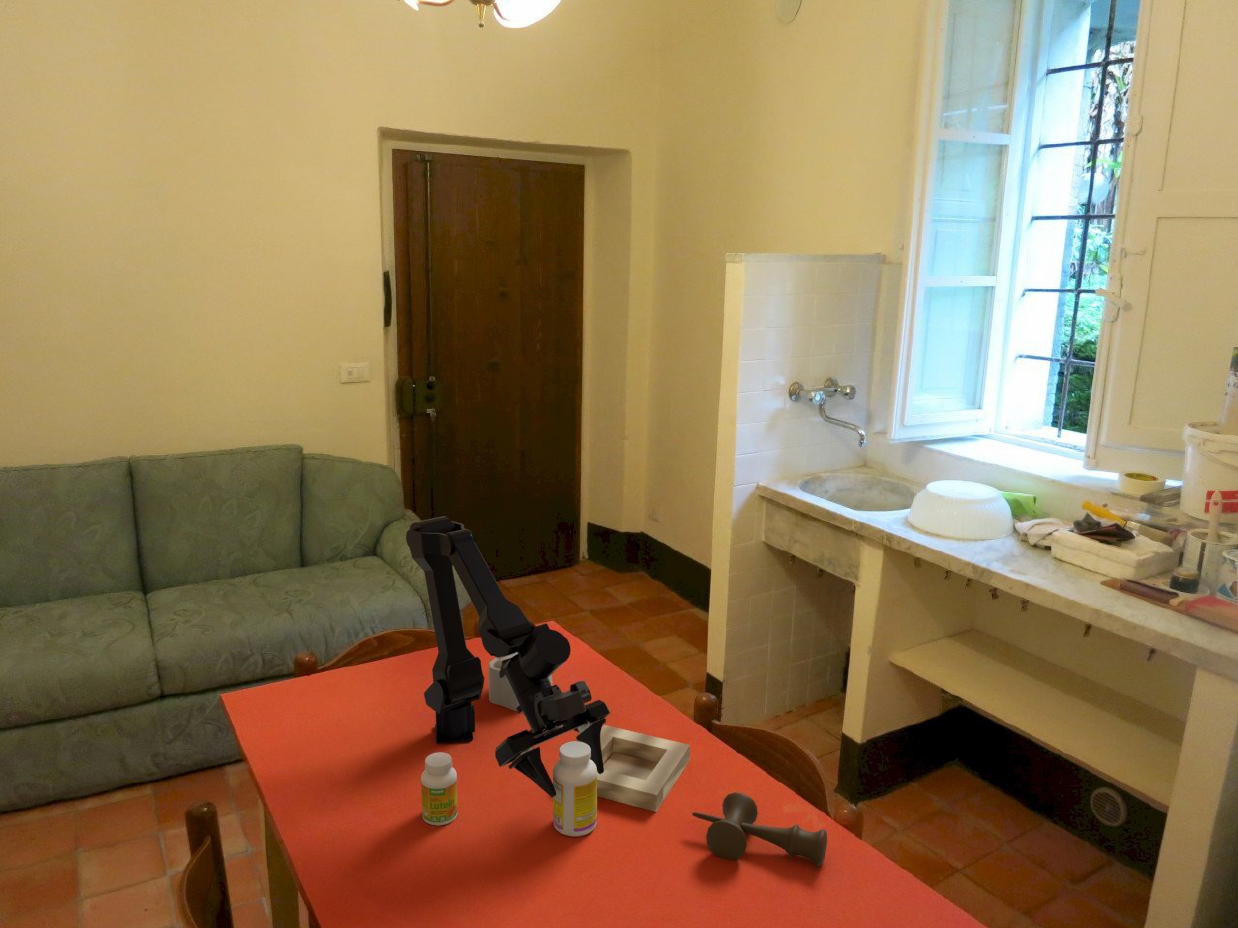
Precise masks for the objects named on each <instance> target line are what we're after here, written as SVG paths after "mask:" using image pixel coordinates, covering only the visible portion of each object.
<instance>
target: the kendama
mask: <svg viewBox="0 0 1238 928" xmlns="http://www.w3.org/2000/svg"><path fill="white" fill-rule="evenodd" d="M722 802H723V803H722V805H721V807H722V814H723V816H724V817H720V816H717V815H712V814H707V813H703V812H698V811H696V812H692V814H691V815H692V816H693V817H695V818H697V819H699V820H700V819H701V820H704V821H706V822H710V823H711V824H710V826H709V827H708V828H707V831H706V835H705V838H706V844H707V847H708V849H709V851H710V852H711V853H712V854H714V855H715V856H716V857H719V858H721V859H725V860H730V861H735V860H740V859H741V857H742V856H743V855H744V854H745V853H746V849H747V846H748V843H747V836H746V835H745V834H748V835H750V836H754V837H756V838H759V839H761V840H763V841H766V842H768V843H770V844H773V845H774V846H777V847H779V848H781V849H782V850H784V851H785V852H786V853H787V855H788V856H789V857H794V856H799V857H803V858H806V859H807V860H809V861H811V862H812V863H813V864H814V866H815V867H818V868H819V867H821V866H822V865H823V863H824V860H825V858H826V857H825V856H826V852H827V846H828V833H827V830H826V829H823V828H822V829H819V830H817V831H809V830H804V829H802V828H801V827H800V825H798V824H794V825H793V826H791V827H775V826H768V825H759V824H754V823H755V822H757V821H756V820H757V818H758V815H759V814H758V813H759V812H758V806H757V803H756V801H755V800H754V799H753V798H752V797H751V796H749V795H748V794H745V793H743V792H737V791H736V792H730V793H728V794H727V795H726V796H725V797H724V798H723V801H722Z"/></svg>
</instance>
